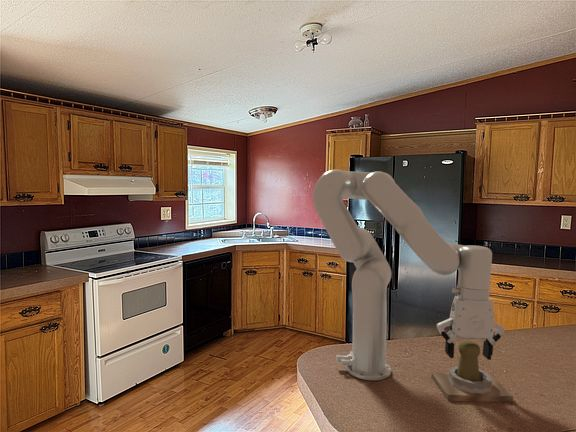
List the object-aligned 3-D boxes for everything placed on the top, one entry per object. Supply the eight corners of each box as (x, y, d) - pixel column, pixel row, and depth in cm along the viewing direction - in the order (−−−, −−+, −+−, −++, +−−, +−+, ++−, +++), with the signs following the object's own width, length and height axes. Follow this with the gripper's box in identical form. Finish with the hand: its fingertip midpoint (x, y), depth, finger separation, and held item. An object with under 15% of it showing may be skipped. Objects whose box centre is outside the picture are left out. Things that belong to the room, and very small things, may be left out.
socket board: (448, 400, 98) (448, 385, 97) (431, 377, 110) (432, 363, 109) (512, 402, 97) (513, 386, 97) (489, 378, 109) (489, 364, 109)
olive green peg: (476, 379, 106) (478, 339, 105) (483, 390, 100) (485, 348, 99) (453, 376, 107) (454, 337, 106) (458, 387, 101) (460, 346, 100)
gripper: (444, 296, 98) (440, 361, 100) (514, 298, 98) (509, 364, 99) (434, 288, 106) (430, 349, 107) (499, 290, 105) (494, 352, 107)
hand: (468, 356), depth 103 cm, fingers open, 9 cm apart
